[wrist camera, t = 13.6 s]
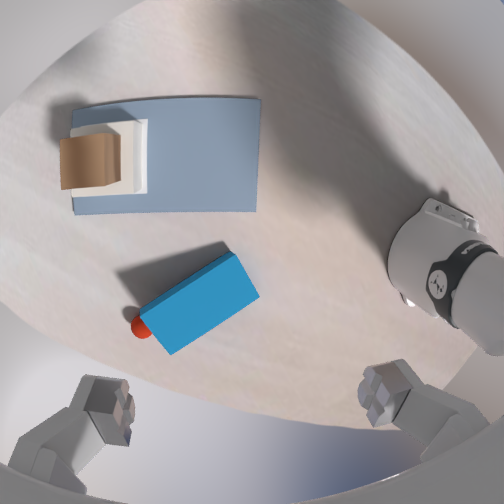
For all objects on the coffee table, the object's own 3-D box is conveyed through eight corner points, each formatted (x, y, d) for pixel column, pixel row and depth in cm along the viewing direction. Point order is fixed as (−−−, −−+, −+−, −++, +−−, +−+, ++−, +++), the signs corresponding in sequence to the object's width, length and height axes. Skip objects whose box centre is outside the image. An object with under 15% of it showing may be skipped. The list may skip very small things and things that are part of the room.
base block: (142, 123, 30) (133, 120, 26) (142, 188, 33) (133, 193, 29) (84, 130, 29) (70, 128, 25) (85, 192, 32) (71, 197, 28)
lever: (221, 244, 42) (119, 310, 39) (235, 254, 36) (116, 331, 32) (242, 281, 45) (146, 344, 41) (259, 296, 38) (149, 368, 35)
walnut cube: (120, 135, 27) (104, 133, 22) (121, 180, 28) (104, 186, 24) (81, 139, 26) (60, 139, 21) (81, 183, 28) (61, 189, 23)
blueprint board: (259, 100, 32) (260, 99, 31) (255, 210, 36) (256, 212, 36) (75, 110, 29) (72, 110, 28) (77, 214, 33) (74, 215, 32)
